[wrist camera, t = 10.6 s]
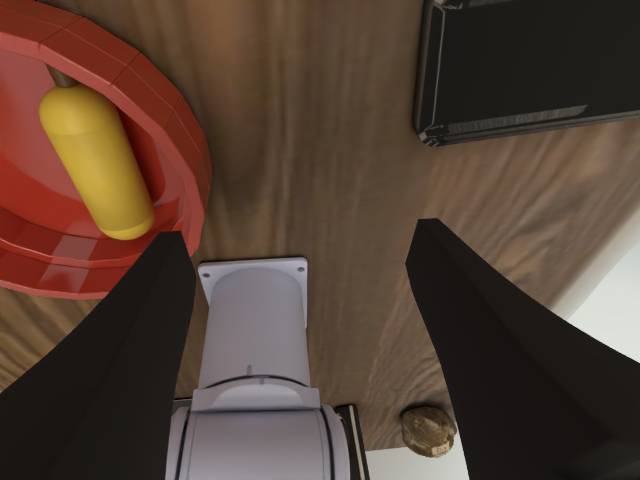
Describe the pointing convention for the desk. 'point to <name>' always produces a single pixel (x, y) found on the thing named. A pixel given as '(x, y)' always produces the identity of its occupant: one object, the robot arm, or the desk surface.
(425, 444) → the fossilized seashell
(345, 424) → the battery charger
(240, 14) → the desk surface
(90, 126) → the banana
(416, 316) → the desk surface
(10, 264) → the bowl
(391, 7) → the desk surface
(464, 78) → the phone
